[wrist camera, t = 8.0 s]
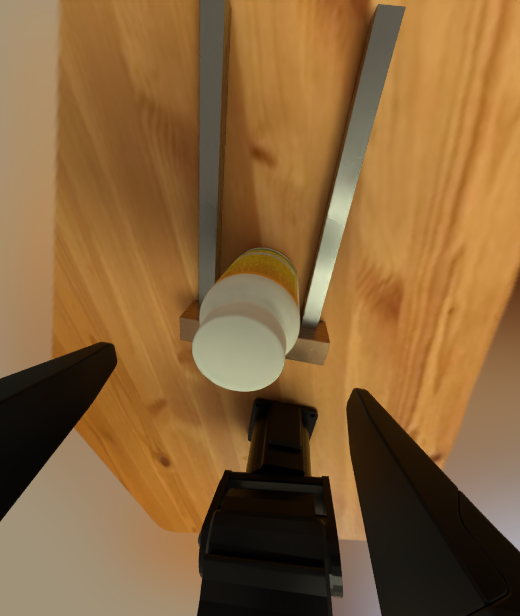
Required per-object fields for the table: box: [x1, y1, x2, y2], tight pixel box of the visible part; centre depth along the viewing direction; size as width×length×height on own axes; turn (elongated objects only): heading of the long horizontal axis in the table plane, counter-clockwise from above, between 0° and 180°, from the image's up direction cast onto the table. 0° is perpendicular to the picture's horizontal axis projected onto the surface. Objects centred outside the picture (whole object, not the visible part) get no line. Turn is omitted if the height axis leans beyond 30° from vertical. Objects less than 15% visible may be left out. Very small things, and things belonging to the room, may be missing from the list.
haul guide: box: [180, 0, 405, 365], centre depth 15 cm, size 19×11×3 cm, turn 173°
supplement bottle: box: [192, 248, 300, 392], centre depth 14 cm, size 5×5×10 cm
